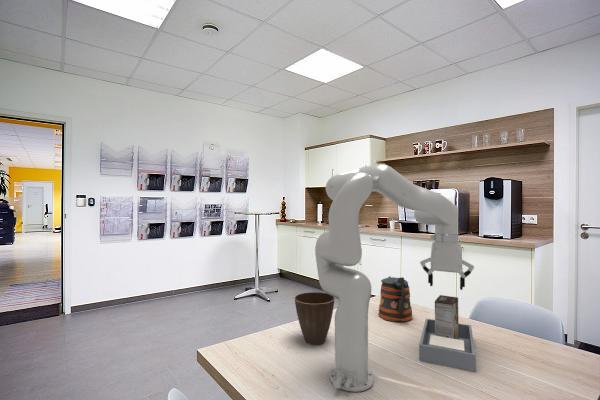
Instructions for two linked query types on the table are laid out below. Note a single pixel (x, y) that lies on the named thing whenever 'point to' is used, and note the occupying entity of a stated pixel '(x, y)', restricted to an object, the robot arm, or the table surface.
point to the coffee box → (446, 317)
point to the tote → (446, 355)
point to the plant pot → (314, 315)
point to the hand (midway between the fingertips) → (446, 287)
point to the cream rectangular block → (447, 343)
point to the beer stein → (395, 300)
